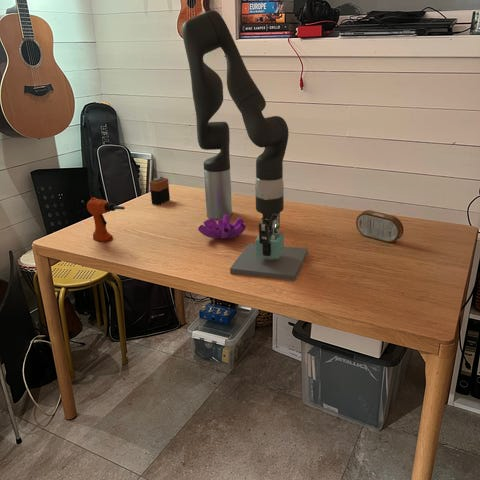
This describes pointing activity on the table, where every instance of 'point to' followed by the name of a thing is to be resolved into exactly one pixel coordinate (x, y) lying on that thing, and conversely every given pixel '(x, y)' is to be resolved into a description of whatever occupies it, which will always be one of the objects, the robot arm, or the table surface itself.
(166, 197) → the battery
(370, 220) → the tin
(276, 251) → the collar
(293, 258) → the post plate
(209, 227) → the purple coral
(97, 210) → the toy drill
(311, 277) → the table surface
